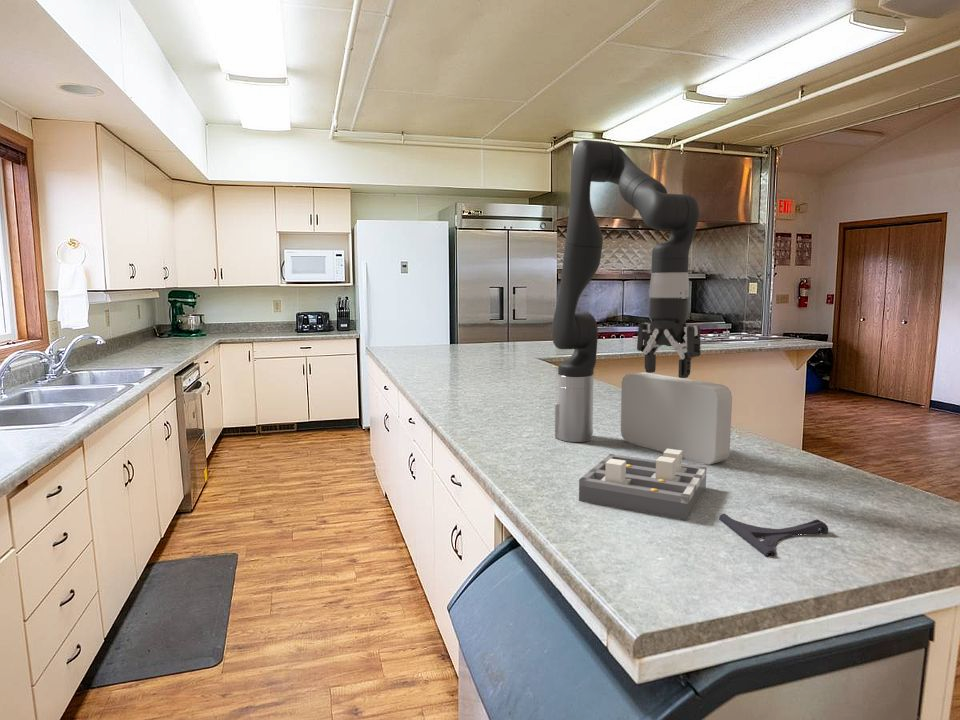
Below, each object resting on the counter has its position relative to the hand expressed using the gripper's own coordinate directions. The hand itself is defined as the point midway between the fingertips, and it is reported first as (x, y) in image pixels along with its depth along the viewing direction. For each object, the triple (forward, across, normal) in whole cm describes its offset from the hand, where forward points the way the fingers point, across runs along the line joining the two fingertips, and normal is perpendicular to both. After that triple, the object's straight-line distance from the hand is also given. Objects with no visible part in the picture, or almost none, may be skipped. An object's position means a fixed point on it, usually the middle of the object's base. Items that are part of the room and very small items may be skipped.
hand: (666, 374), depth 122 cm
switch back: (+19, +4, -2) cm, 20 cm away
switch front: (+19, +3, -17) cm, 25 cm away
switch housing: (+22, +3, -9) cm, 25 cm away
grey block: (+23, -14, +19) cm, 33 cm away
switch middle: (+19, +7, -7) cm, 22 cm away
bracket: (+24, +29, -4) cm, 38 cm away
